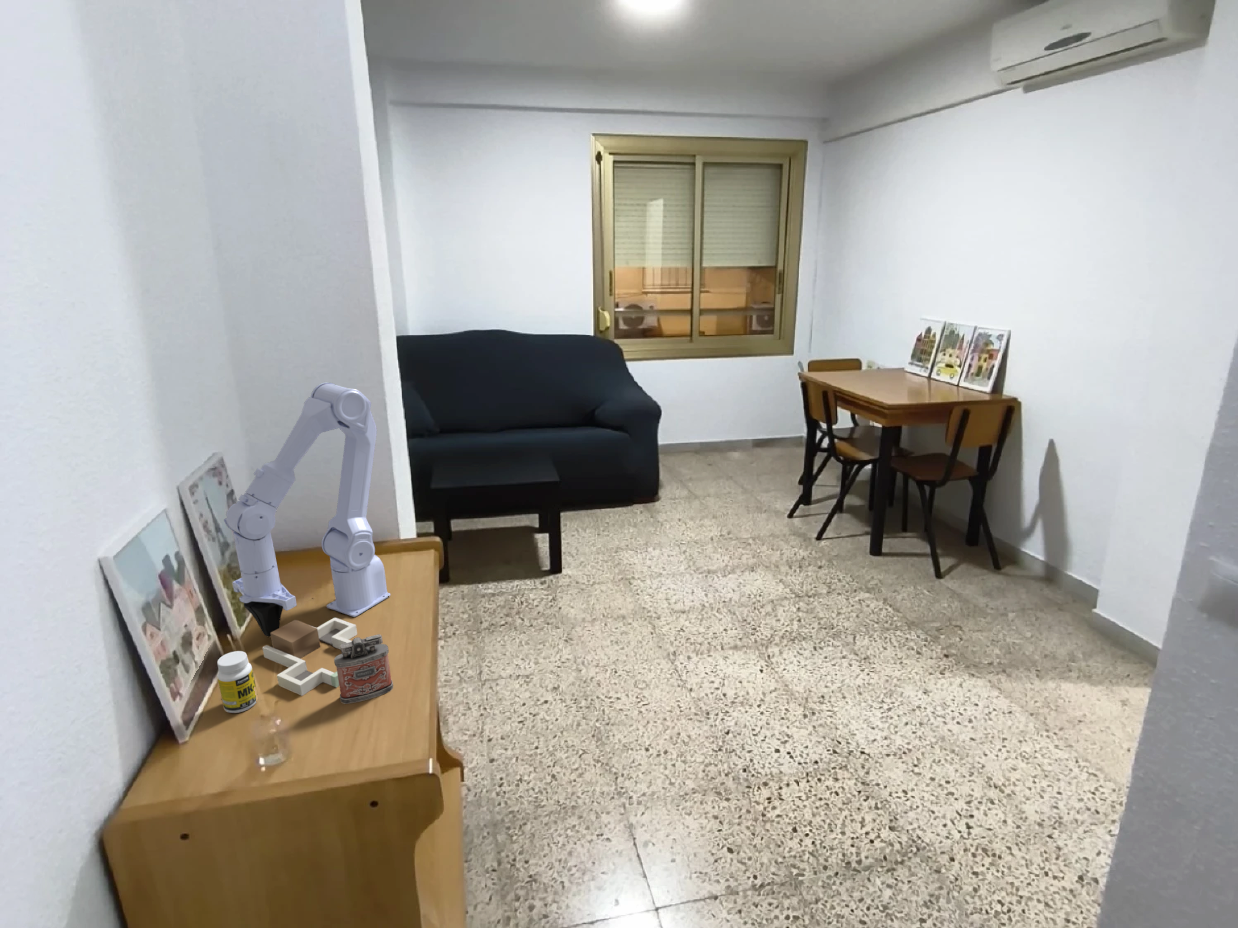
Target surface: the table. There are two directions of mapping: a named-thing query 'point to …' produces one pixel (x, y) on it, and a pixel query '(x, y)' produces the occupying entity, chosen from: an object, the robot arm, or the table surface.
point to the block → (296, 639)
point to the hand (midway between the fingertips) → (271, 633)
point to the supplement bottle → (236, 682)
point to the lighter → (363, 669)
